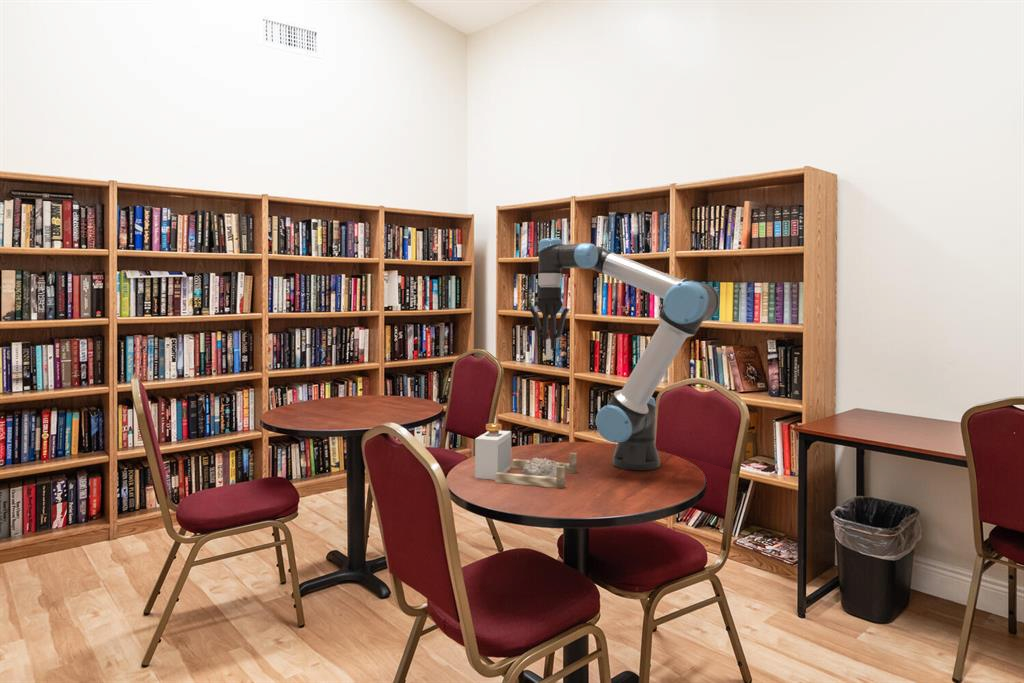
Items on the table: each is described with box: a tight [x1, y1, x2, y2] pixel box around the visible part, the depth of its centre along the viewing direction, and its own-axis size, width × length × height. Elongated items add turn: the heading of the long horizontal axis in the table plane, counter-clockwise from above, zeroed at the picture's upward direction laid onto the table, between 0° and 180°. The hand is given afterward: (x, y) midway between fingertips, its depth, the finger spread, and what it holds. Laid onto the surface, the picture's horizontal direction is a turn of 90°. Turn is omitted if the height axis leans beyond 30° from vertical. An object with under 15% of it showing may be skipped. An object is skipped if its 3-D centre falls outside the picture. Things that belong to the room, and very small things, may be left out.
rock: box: [521, 457, 560, 477], centre depth 200 cm, size 11×11×6 cm
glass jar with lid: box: [485, 422, 502, 437], centre depth 205 cm, size 5×5×8 cm
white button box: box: [474, 430, 512, 481], centre depth 205 cm, size 7×14×12 cm, turn 163°
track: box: [494, 452, 578, 489], centre depth 201 cm, size 20×19×6 cm
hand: (549, 359), depth 216 cm, fingers closed
